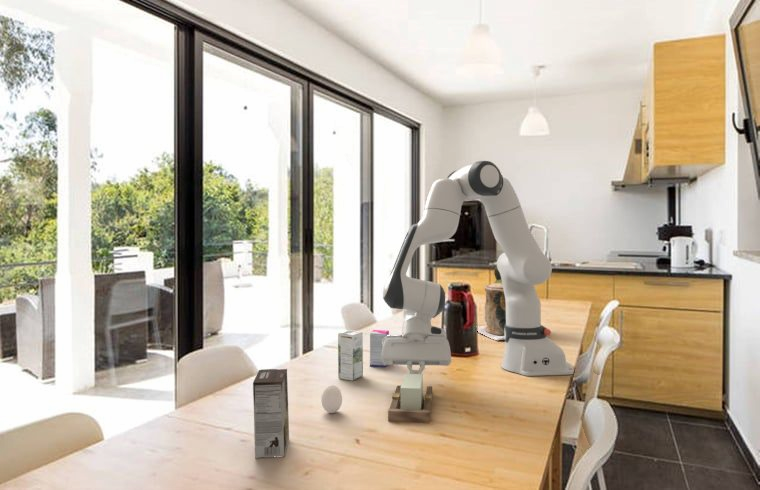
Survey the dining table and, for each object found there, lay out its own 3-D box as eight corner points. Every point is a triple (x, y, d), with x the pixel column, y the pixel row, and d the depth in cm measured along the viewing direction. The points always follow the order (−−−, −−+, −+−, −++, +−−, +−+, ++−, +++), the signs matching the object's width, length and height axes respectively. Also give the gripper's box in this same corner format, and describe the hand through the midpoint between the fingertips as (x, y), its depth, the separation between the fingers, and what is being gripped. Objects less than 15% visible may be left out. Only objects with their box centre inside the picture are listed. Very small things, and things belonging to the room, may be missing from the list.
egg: (319, 410, 126) (318, 382, 126) (339, 407, 128) (338, 380, 128) (324, 418, 121) (323, 388, 121) (344, 414, 123) (344, 386, 123)
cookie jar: (468, 330, 219) (467, 259, 218) (515, 326, 227) (515, 257, 225) (497, 342, 196) (496, 263, 194) (549, 337, 203) (549, 261, 202)
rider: (423, 399, 133) (422, 374, 133) (420, 416, 122) (420, 388, 121) (404, 398, 134) (404, 373, 134) (400, 415, 122) (400, 387, 122)
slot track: (432, 393, 137) (432, 384, 137) (429, 422, 117) (429, 412, 117) (396, 392, 139) (396, 383, 139) (387, 421, 118) (387, 410, 118)
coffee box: (260, 440, 109) (258, 369, 109) (289, 438, 110) (288, 367, 109) (253, 459, 100) (251, 382, 99) (285, 457, 101) (283, 380, 100)
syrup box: (348, 373, 157) (347, 329, 157) (363, 376, 154) (362, 331, 154) (338, 378, 152) (337, 332, 152) (353, 381, 149) (352, 334, 149)
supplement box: (386, 367, 164) (385, 333, 163) (369, 366, 165) (368, 333, 164) (389, 362, 169) (389, 329, 169) (373, 361, 171) (372, 329, 170)
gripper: (381, 329, 145) (377, 371, 136) (450, 329, 142) (451, 372, 133) (383, 340, 150) (380, 382, 141) (450, 341, 147) (451, 383, 138)
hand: (415, 377), depth 137 cm, fingers closed
